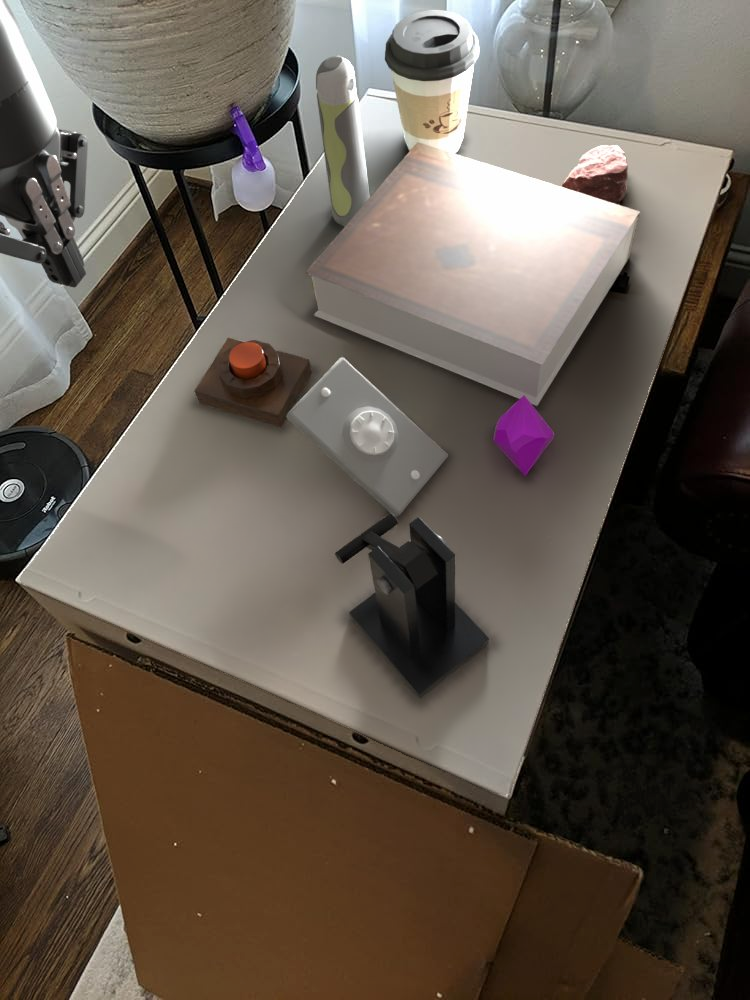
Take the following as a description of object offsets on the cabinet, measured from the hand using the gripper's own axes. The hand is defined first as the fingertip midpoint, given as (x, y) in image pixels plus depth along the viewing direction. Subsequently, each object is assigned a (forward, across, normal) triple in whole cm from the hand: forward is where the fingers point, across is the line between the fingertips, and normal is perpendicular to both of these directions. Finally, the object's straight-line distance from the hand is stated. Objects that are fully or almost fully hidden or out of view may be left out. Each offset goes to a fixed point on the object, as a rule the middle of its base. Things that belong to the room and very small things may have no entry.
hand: (71, 279), depth 68 cm
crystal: (+25, +13, -35) cm, 45 cm away
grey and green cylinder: (+24, +40, -6) cm, 47 cm away
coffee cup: (+24, +56, -11) cm, 62 cm away
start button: (+21, +12, -6) cm, 25 cm away
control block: (+25, +12, -6) cm, 28 cm away
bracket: (+25, -9, -32) cm, 42 cm away
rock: (+24, +52, -33) cm, 66 cm away
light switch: (+25, +7, -21) cm, 34 cm away
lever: (+15, -8, -30) cm, 35 cm away
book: (+24, +33, -23) cm, 47 cm away
